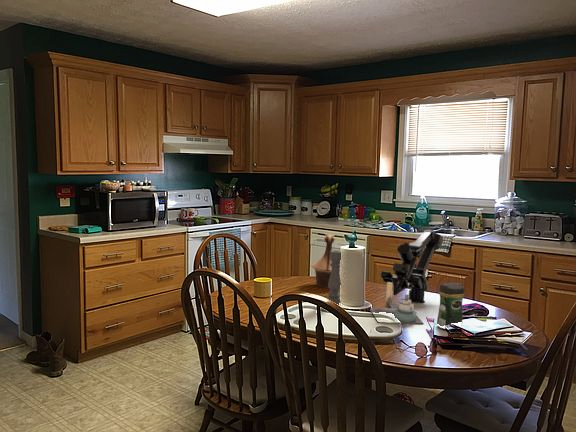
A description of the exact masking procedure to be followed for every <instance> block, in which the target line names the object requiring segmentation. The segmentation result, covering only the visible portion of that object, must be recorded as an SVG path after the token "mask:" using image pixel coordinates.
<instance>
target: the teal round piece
mask: <svg viewBox="0 0 576 432" xmlns="http://www.w3.org/2000/svg"><path fill="white" fill-rule="evenodd" d="M396 309H397V308H396ZM416 315H417V312H416V311H415V310H413V313H411V314H405V313H401V312H398V309H397V310H395V313H394V316H395V318H397V319H398V320H399V321H401V322H415V321H416Z"/></svg>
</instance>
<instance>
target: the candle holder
mask: <svg viewBox="0 0 576 432" xmlns="http://www.w3.org/2000/svg"><path fill="white" fill-rule="evenodd" d="M341 251H342V250H338V249H337V250H336V249H332V250H331V251H330V258H331V262H332V263H331V264H330V266H331V267H332V268H331V276H330V279H329V283H328V287H329V288H328V289H329V292H328V293H327V296H326V297H327V298H326V300H327V299H329V300H331V301H333V302H335V303H336V304H338V305H339V303H340V304H341V301H340V298H341V294H340V289H341V288H340V285H341V286H342V281H341V280H342V279H341V275H340V271H341V270H340V264H341V262H340V260H341ZM341 261H342V260H341Z"/></svg>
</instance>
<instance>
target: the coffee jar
mask: <svg viewBox="0 0 576 432" xmlns="http://www.w3.org/2000/svg"><path fill="white" fill-rule="evenodd" d="M438 294H439V307H438V313H437V320H436V325H437V324H439V325H440V326H444V325H448V324H451V323H458V322H462V323H463V299H464V296H465V287H464V284H461V283H459V282H448V283H441V284H440V285H439V290H438Z"/></svg>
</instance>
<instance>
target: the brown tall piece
mask: <svg viewBox="0 0 576 432" xmlns="http://www.w3.org/2000/svg"><path fill="white" fill-rule="evenodd" d="M324 236H325V237H323V239H324V241H325V243H326V247H325V252H324V253H323V255H322V257H321V258H320V259H319V260H318V261H316V262H315V263H313V264H311V265H310V267H311V268H313V269H314V271H315V285H316V286H317V287H320V288H323V289H324V288H325V289H329V287H328V283H329V279H330V276H331V268H332V267H331V266H330V264H331V263H332V262H331V258H330V251H331V250H333V246H332V245H333V243H334V242H335V241H336V238H335V235H334V234H331V233H329V234H324Z"/></svg>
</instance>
